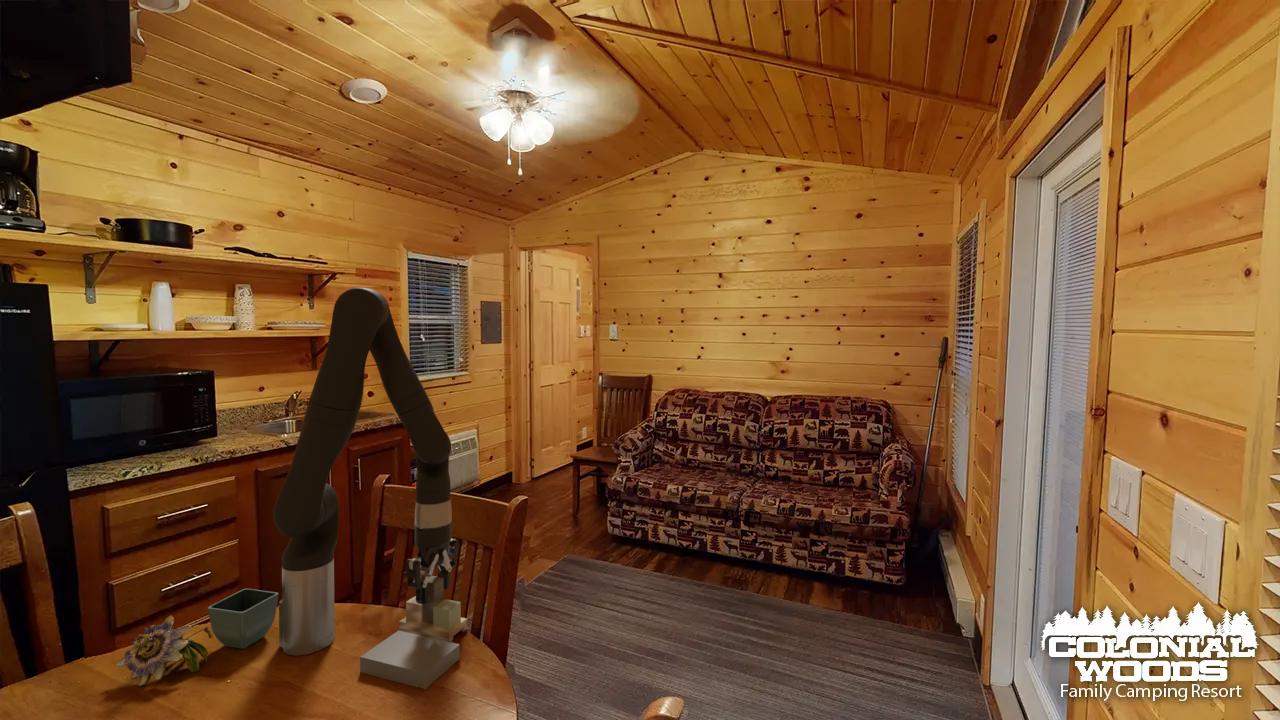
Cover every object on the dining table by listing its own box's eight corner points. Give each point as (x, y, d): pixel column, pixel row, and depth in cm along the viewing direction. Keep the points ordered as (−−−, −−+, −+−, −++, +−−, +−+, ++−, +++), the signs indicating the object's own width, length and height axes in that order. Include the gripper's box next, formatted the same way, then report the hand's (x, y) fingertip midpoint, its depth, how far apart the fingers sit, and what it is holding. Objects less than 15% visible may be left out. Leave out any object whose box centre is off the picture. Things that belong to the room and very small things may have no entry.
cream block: (406, 619, 119) (406, 601, 119) (418, 611, 123) (418, 593, 123) (421, 623, 118) (421, 605, 118) (433, 614, 122) (433, 596, 122)
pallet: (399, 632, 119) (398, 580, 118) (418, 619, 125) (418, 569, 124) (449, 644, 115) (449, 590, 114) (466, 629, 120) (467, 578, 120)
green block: (433, 625, 117) (433, 607, 117) (445, 616, 121) (445, 599, 121) (448, 629, 116) (448, 610, 116) (460, 620, 120) (460, 602, 120)
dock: (360, 672, 104) (360, 656, 104) (398, 644, 114) (398, 630, 114) (425, 689, 100) (425, 673, 100) (459, 658, 109) (459, 644, 109)
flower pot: (243, 656, 109) (242, 612, 108) (206, 650, 111) (205, 607, 110) (280, 633, 117) (279, 592, 117) (246, 628, 119) (245, 587, 119)
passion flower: (146, 712, 100) (94, 669, 97) (186, 666, 111) (140, 626, 108) (196, 679, 100) (146, 635, 97) (232, 637, 110) (187, 595, 107)
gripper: (440, 508, 127) (440, 579, 127) (394, 529, 113) (394, 608, 114) (468, 512, 124) (468, 584, 125) (424, 533, 111) (424, 614, 111)
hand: (433, 595), depth 119 cm, fingers open, 6 cm apart
